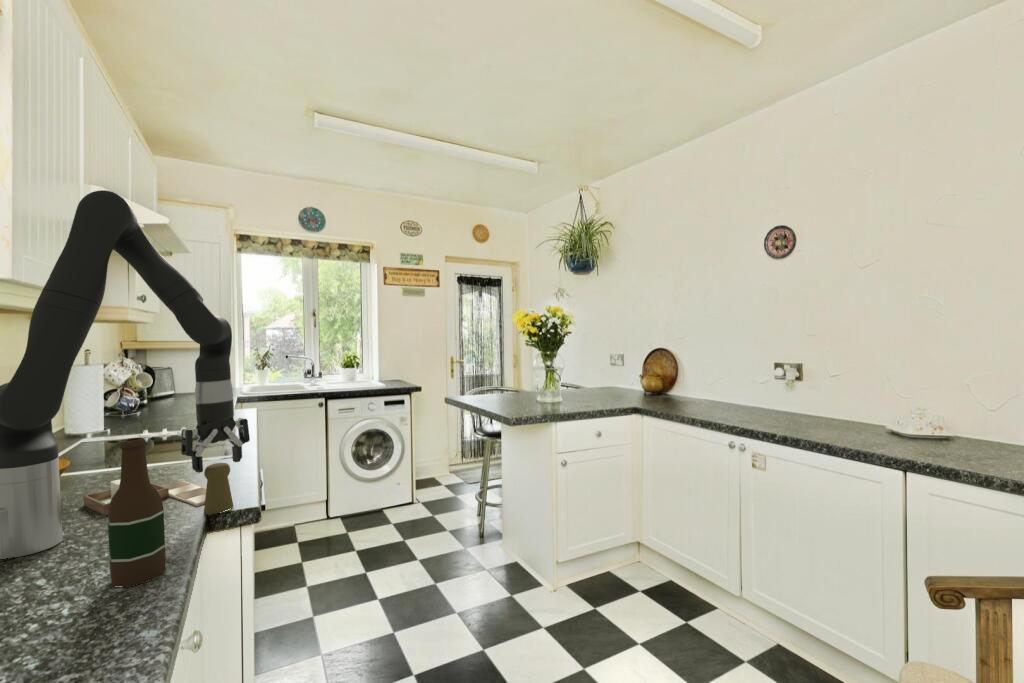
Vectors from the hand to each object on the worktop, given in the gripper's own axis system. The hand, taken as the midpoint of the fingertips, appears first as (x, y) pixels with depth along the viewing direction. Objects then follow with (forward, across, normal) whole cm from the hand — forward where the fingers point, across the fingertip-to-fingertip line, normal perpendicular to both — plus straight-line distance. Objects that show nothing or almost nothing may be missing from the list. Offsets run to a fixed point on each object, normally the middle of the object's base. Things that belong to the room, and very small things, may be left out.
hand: (218, 466), depth 110 cm
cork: (+10, +1, 0) cm, 10 cm away
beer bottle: (+10, +24, +20) cm, 33 cm away
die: (+10, +9, -27) cm, 30 cm away
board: (+10, -2, -18) cm, 21 cm away
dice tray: (+10, +9, -27) cm, 30 cm away
